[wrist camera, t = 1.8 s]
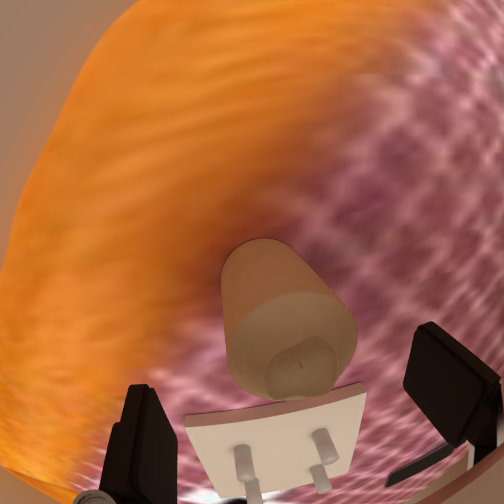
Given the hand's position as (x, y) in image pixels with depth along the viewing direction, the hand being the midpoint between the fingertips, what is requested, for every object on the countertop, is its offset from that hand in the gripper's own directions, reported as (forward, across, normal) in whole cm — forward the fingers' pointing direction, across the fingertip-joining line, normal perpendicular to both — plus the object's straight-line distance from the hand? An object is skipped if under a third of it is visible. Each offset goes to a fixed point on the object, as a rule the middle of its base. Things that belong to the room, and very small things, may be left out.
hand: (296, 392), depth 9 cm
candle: (+11, -1, 0) cm, 11 cm away
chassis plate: (+11, -1, +20) cm, 23 cm away
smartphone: (+11, -26, +41) cm, 50 cm away
